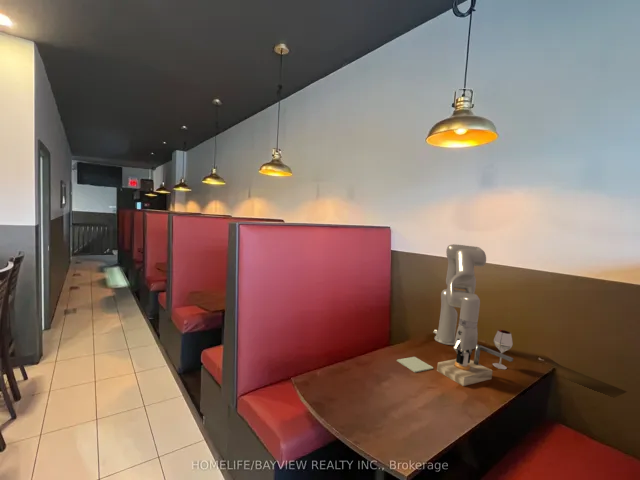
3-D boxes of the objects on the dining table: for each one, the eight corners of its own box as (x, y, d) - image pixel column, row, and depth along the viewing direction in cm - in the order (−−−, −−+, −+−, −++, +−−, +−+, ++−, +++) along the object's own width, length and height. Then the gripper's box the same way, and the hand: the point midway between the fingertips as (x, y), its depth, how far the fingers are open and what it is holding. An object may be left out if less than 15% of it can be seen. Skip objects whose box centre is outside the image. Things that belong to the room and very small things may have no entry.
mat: (396, 360, 150) (396, 359, 150) (414, 357, 156) (414, 356, 156) (415, 372, 140) (415, 371, 140) (433, 368, 146) (433, 367, 146)
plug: (450, 372, 143) (453, 350, 142) (459, 370, 146) (462, 348, 146) (462, 379, 137) (465, 356, 137) (471, 377, 141) (474, 354, 140)
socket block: (436, 370, 144) (437, 362, 144) (464, 364, 154) (465, 357, 154) (463, 386, 132) (464, 377, 132) (491, 378, 142) (492, 370, 141)
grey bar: (472, 363, 147) (475, 344, 146) (475, 362, 148) (477, 344, 147) (508, 379, 133) (511, 359, 133) (510, 378, 135) (513, 358, 134)
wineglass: (504, 364, 160) (508, 330, 159) (512, 371, 152) (517, 335, 151) (487, 361, 161) (492, 328, 160) (495, 369, 153) (499, 333, 152)
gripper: (463, 327, 133) (457, 368, 134) (486, 325, 141) (481, 363, 142) (448, 322, 140) (443, 361, 141) (472, 319, 148) (467, 356, 149)
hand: (462, 362), depth 141 cm, fingers closed on plug, 4 cm apart
